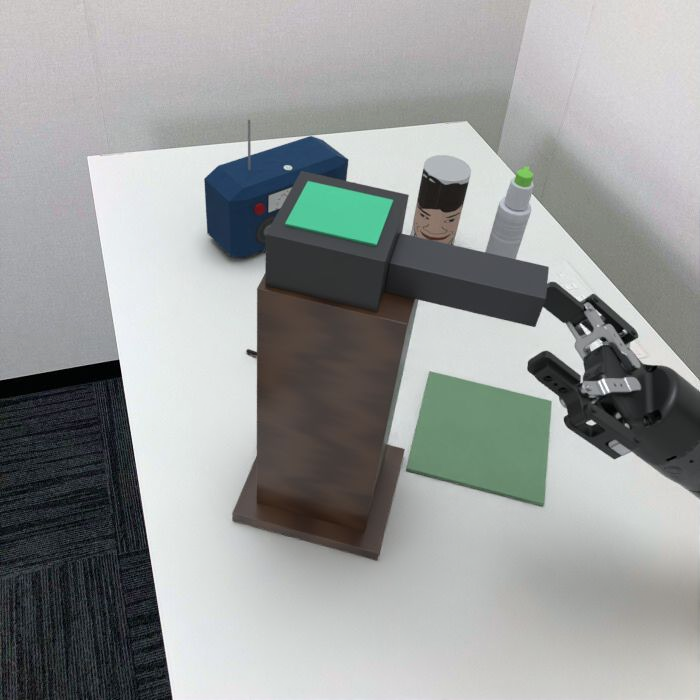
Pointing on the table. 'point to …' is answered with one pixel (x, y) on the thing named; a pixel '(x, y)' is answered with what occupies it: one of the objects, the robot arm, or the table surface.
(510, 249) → the bottle
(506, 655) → the table surface
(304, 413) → the stand
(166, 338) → the table surface
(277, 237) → the green-topped block with handle
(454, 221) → the printed can
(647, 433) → the robot arm
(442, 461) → the mat
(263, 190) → the radio
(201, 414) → the table surface
